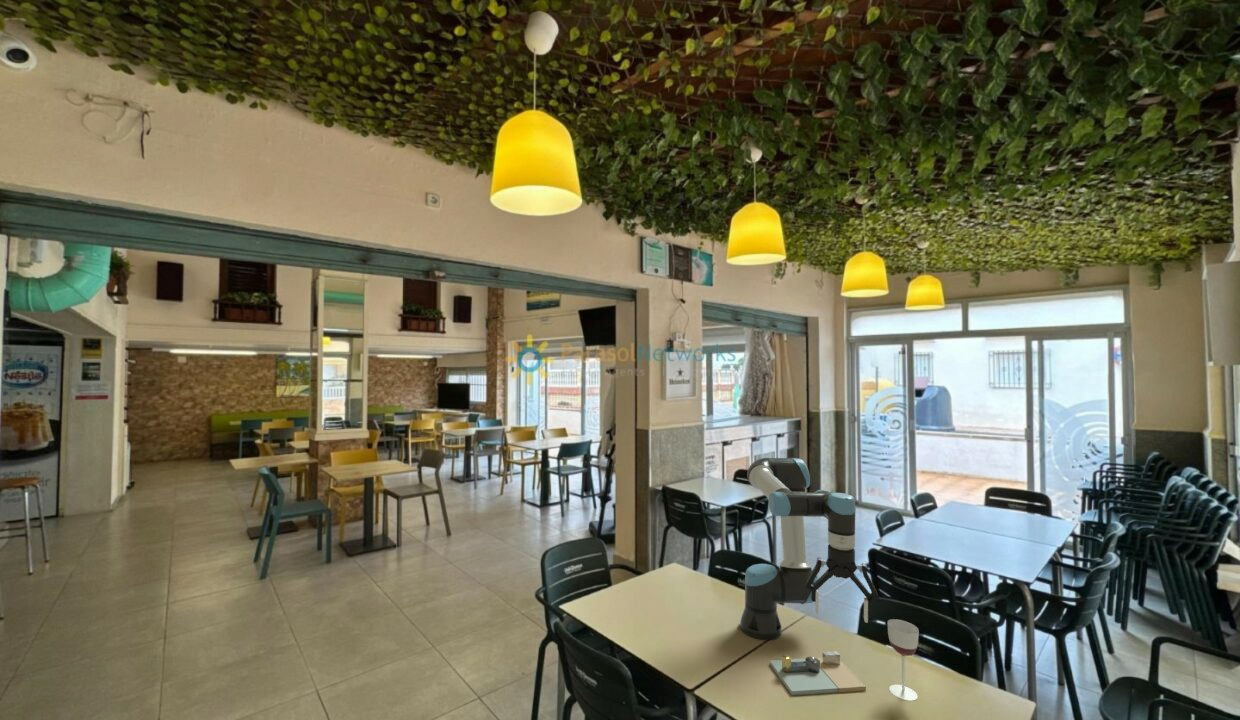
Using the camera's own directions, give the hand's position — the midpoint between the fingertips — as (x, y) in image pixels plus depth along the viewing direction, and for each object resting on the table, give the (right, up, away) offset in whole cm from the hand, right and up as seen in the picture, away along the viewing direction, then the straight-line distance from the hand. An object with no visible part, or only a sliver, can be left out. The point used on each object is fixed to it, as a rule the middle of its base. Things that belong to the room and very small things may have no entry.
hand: (840, 616), depth 148 cm
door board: (-4, -24, +9) cm, 26 cm away
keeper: (+4, -23, +15) cm, 28 cm away
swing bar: (-8, -23, +11) cm, 27 cm away
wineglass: (+20, -25, +2) cm, 32 cm away
